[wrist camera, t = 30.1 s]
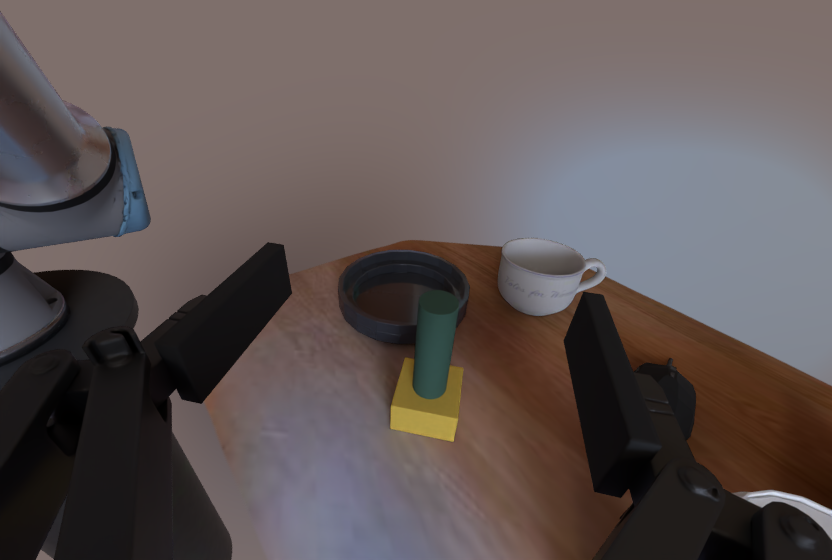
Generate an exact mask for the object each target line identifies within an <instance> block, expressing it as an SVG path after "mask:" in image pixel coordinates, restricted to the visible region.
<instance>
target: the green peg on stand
mask: <svg viewBox="0 0 832 560" xmlns="http://www.w3.org/2000/svg"><path fill="white" fill-rule="evenodd" d="M458 310H459V301H458V299H457V298H456V297H455V296H454V295H453V294H451V293H449V292H446V291H441V290H432V291H428V292H425V293H424V294H422V295H421V297H420V298H419V304H418V317H417V330H416V344H415V357H414V359H412V358H406V357H405V359H404V363H403V366H402V370H401V373H400V376H399V380H398V383H397V386H396V390H395V393H394V397H393V400H392V403H391V420H390V429H394V430H399V431H404V432H408V433H413V434H418V435H423V436H428V437H432V438H437V439H442V440H447V441H452V442H453V441H454V437H455V432H456V427H457V422H458V415H459V405H460V396H461V387H462V377H463V368H461V367H456V366H450V361H451V355H452V348H453V342H454V336H455V329H456V323H457V316H458Z"/></svg>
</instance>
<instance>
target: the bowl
mask: <svg viewBox="0 0 832 560" xmlns="http://www.w3.org/2000/svg"><path fill="white" fill-rule="evenodd" d="M469 289H470V286H469V284H468V281H467V279H466V276H465V275H464V274H463V273H462V272H461V271H460V270H459V269H458V268H457V267H456V266H455V265H454V264H452V263H450V262H448V261H447V260H445V259H443V258H441V257H438V256H435V255H432V254H429V253H425V252H419V251H412V250H388V251H382V252H376V253H372V254H370V255H367V256H364V257H362V258H359V259H357V260H356V261H355V262H353V263H352V264H350V265H349V266H347V267H346V269H345V270H344V272H343V273H342V275H341V276H340V278H339V285H338V295H339V307H340V309H341V312H342V314H343V316H344V318H345V320H346V321H347V322H348V323H349V324H350V325H351V326H352V327H353V328H355V329H356V330H357V331H358V332H360V333H362V334H364V335H366V336H369V337H371V338H373V339H375V340H379V341H384V342H390V343H395V344H412V343H416V330H417V317H418V304H419V298H420V297H421V295H422V294H424V293H425V292H428V291H432V290H441V291H446V292H449V293H451V294H453V295H454V296H455V297H456V298H457V299H458V301H459V310H458V316H457V323H456V328H457V327H458V325H459V324H460V323H461V321H462V320H463V318H464V317H465V315H466V309H467V303H468V297H469Z"/></svg>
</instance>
